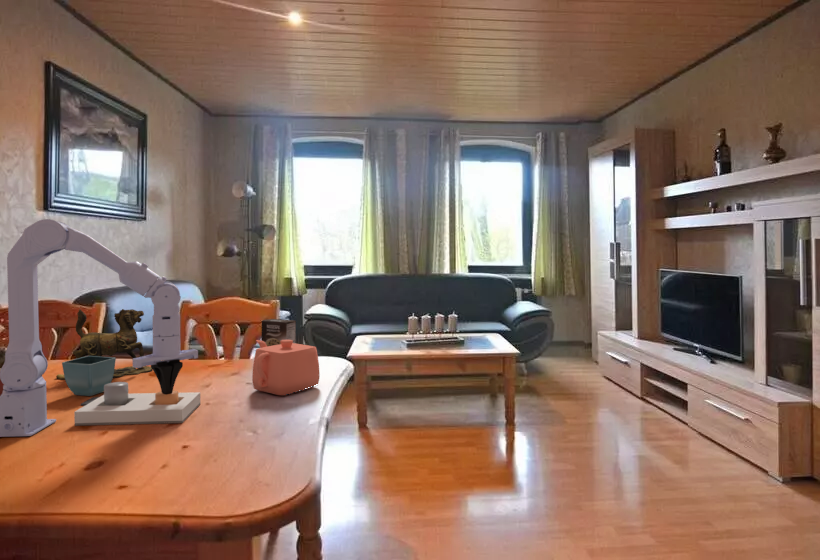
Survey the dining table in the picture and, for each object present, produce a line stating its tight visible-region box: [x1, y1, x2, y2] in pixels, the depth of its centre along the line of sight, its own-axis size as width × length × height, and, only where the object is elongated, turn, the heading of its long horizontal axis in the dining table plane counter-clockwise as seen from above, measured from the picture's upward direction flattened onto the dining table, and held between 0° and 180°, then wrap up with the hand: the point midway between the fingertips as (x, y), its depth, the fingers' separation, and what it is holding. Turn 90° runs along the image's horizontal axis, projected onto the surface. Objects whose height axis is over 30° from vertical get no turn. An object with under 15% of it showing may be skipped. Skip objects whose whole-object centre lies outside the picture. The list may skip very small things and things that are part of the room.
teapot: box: [251, 339, 321, 396], centre depth 142 cm, size 20×19×14 cm
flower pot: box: [61, 356, 117, 397], centre depth 134 cm, size 9×9×9 cm
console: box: [73, 391, 201, 427], centre depth 117 cm, size 14×22×3 cm, turn 97°
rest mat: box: [80, 396, 100, 407], centre depth 127 cm, size 6×6×1 cm
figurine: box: [55, 308, 153, 381], centre depth 154 cm, size 13×25×20 cm, turn 118°
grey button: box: [103, 381, 129, 405], centre depth 117 cm, size 5×5×4 cm
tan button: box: [155, 390, 179, 405], centre depth 118 cm, size 5×5×4 cm
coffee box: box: [261, 318, 297, 347], centre depth 164 cm, size 9×6×16 cm
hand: (167, 393), depth 118 cm, fingers closed, pressing on tan button
